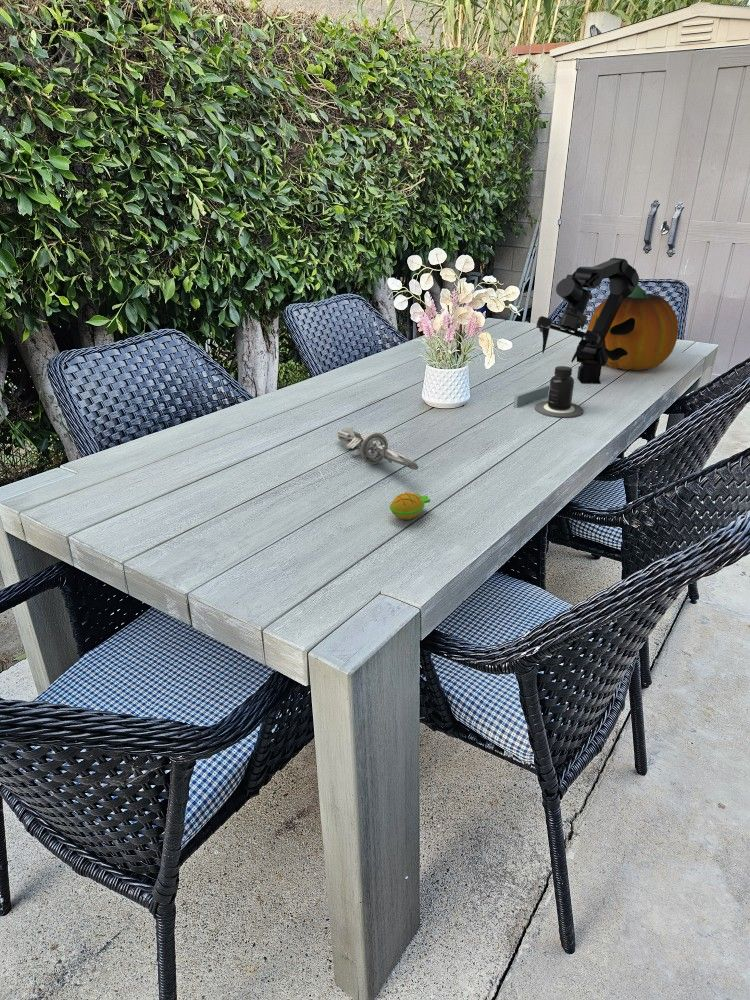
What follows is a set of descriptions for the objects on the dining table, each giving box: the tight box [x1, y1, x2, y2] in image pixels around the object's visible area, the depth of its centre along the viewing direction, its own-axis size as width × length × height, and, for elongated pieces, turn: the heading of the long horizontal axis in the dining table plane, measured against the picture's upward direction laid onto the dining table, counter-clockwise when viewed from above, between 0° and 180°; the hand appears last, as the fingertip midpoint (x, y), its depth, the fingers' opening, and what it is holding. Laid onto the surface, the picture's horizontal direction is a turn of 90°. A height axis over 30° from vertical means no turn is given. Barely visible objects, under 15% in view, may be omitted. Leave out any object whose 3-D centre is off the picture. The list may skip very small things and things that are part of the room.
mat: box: [534, 400, 584, 419], centre depth 204 cm, size 14×14×1 cm
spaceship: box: [335, 427, 419, 471], centre depth 166 cm, size 8×35×8 cm
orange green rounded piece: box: [389, 491, 431, 521], centre depth 143 cm, size 7×10×5 cm
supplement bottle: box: [547, 365, 575, 411], centre depth 201 cm, size 7×7×12 cm
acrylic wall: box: [513, 384, 550, 408], centre depth 210 cm, size 16×1×4 cm, turn 132°
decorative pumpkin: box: [587, 284, 679, 371], centre depth 241 cm, size 30×30×30 cm
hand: (557, 357), depth 210 cm, fingers open, 9 cm apart
